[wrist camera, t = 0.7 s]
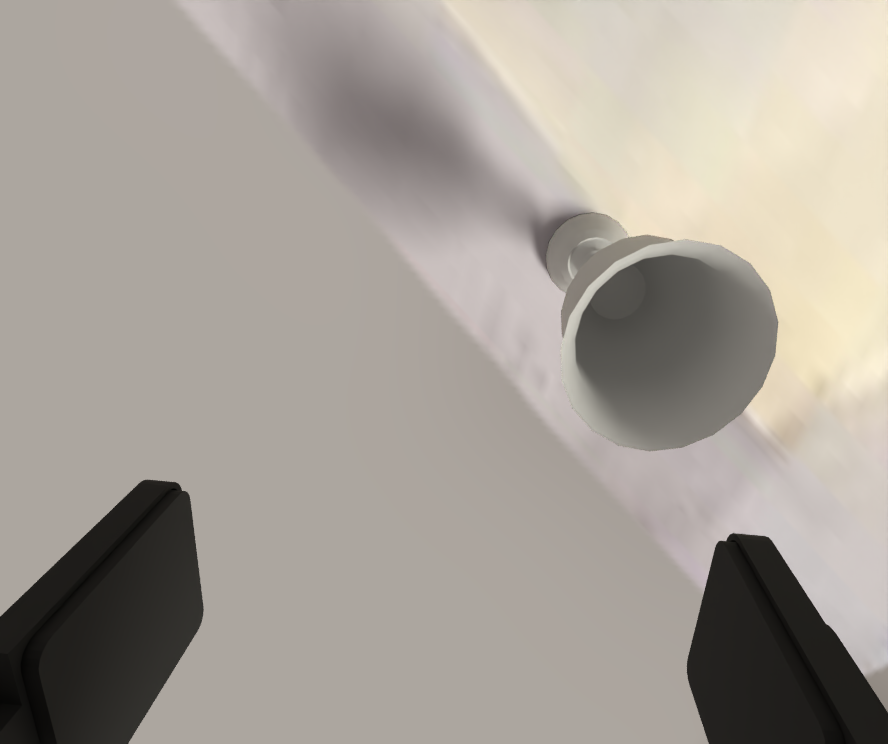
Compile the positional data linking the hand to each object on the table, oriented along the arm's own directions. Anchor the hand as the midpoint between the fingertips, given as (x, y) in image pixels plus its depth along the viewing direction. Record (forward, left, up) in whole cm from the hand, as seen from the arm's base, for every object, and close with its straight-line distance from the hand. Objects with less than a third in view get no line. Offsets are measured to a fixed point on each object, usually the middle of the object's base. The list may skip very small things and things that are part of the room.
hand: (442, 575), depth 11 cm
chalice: (-5, +4, -29) cm, 30 cm away
